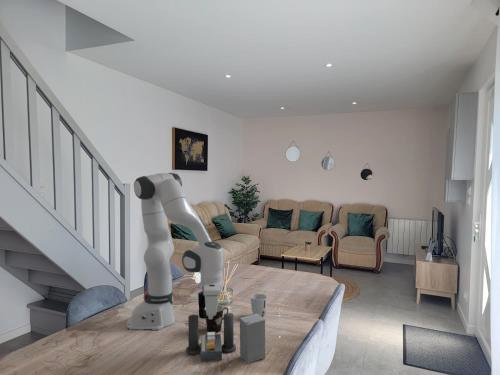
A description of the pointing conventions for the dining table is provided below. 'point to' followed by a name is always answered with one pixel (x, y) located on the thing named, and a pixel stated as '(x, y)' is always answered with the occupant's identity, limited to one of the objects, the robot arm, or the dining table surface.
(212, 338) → the paddle mid
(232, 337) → the post
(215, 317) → the coffee mug
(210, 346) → the paddle
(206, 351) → the dark grey boxy piece
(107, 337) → the dining table surface
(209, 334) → the paddle
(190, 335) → the post
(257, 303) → the cup
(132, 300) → the dining table surface
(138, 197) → the robot arm
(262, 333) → the skincare box
